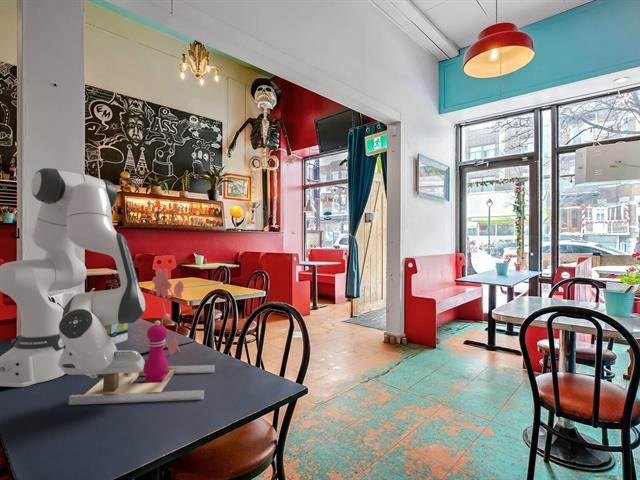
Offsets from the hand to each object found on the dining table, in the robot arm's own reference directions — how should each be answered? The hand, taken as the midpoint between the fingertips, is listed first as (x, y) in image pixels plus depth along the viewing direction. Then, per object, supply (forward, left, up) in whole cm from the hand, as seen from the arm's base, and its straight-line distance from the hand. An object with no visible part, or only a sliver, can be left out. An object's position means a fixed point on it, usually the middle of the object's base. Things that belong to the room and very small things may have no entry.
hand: (112, 375), depth 102 cm
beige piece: (+4, +4, -6) cm, 8 cm away
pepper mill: (+10, +8, -6) cm, 14 cm away
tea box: (-26, +55, -6) cm, 61 cm away
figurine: (+3, +36, -6) cm, 37 cm away
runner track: (+9, +5, -6) cm, 12 cm away
